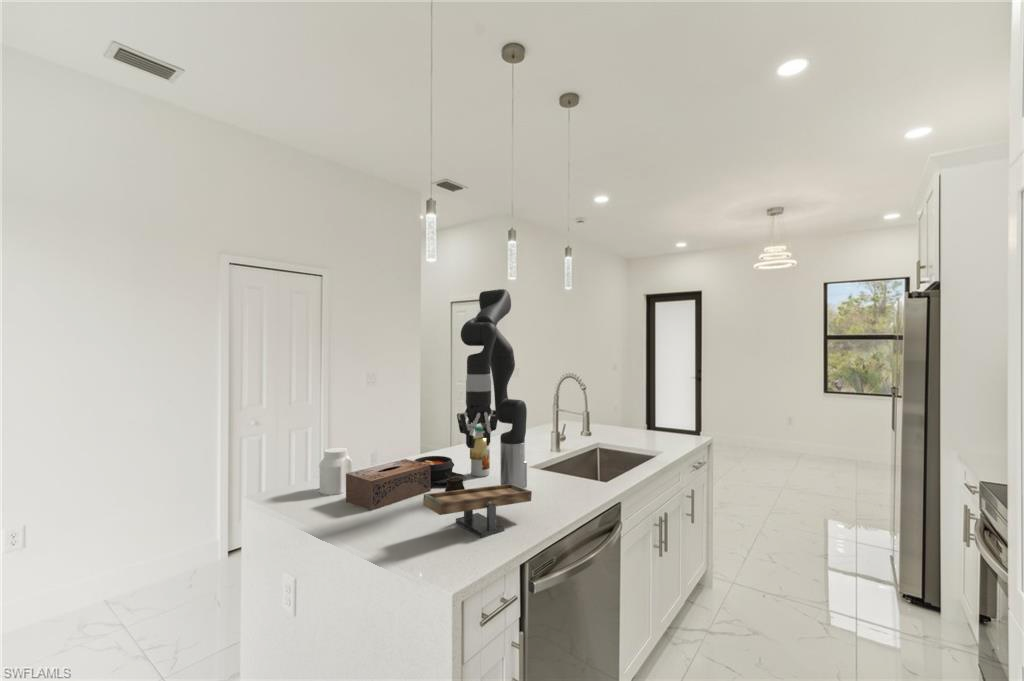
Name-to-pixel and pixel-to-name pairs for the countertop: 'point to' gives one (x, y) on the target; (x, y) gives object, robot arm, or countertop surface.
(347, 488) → the tissue box cover
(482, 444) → the cylinder
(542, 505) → the countertop surface
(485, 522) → the pivot stand
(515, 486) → the beam
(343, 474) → the jar
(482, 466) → the milk bottle
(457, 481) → the mate gourd
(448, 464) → the casserole
